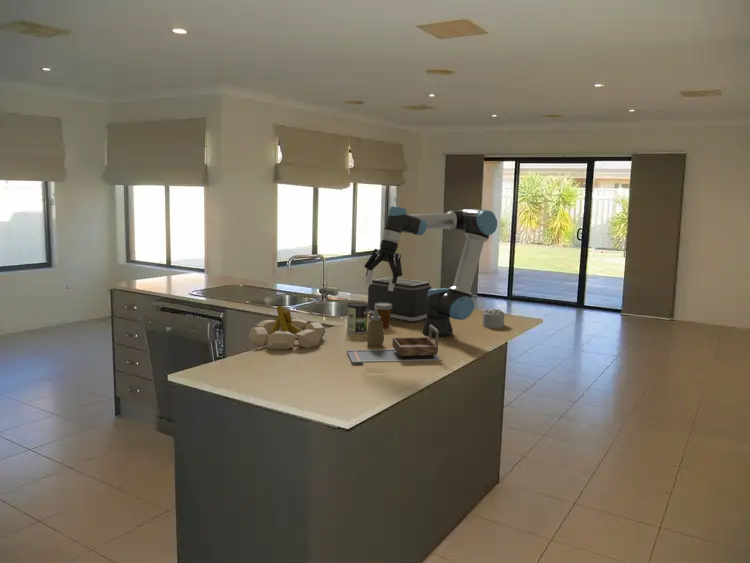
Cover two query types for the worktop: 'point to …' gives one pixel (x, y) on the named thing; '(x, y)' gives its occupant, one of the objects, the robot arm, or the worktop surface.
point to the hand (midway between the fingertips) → (378, 287)
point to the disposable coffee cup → (384, 313)
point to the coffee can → (357, 318)
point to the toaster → (400, 298)
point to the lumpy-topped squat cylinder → (493, 318)
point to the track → (384, 356)
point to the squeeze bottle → (375, 331)
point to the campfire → (286, 332)
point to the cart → (417, 345)
